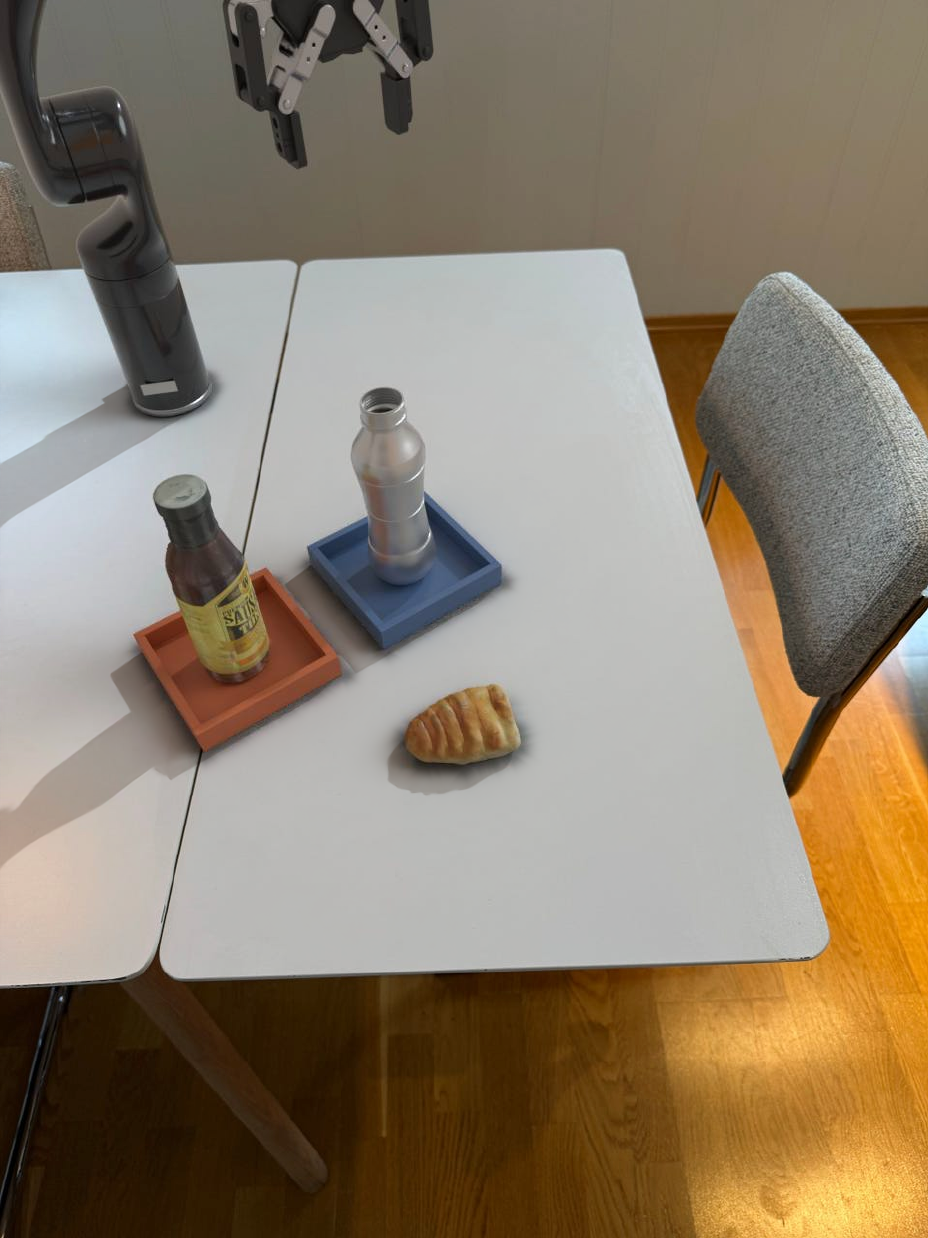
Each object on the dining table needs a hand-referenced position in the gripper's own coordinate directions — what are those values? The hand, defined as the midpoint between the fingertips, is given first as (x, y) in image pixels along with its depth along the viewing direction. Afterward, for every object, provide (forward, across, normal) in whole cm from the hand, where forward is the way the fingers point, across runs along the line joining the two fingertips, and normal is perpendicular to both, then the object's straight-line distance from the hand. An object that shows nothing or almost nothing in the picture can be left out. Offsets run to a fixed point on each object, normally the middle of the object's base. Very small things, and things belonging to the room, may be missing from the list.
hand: (347, 147), depth 65 cm
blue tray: (+37, +4, +8) cm, 38 cm away
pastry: (+37, +10, +27) cm, 46 cm away
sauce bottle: (+36, +22, +8) cm, 43 cm away
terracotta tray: (+37, +22, +8) cm, 43 cm away
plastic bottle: (+36, +4, +8) cm, 37 cm away
